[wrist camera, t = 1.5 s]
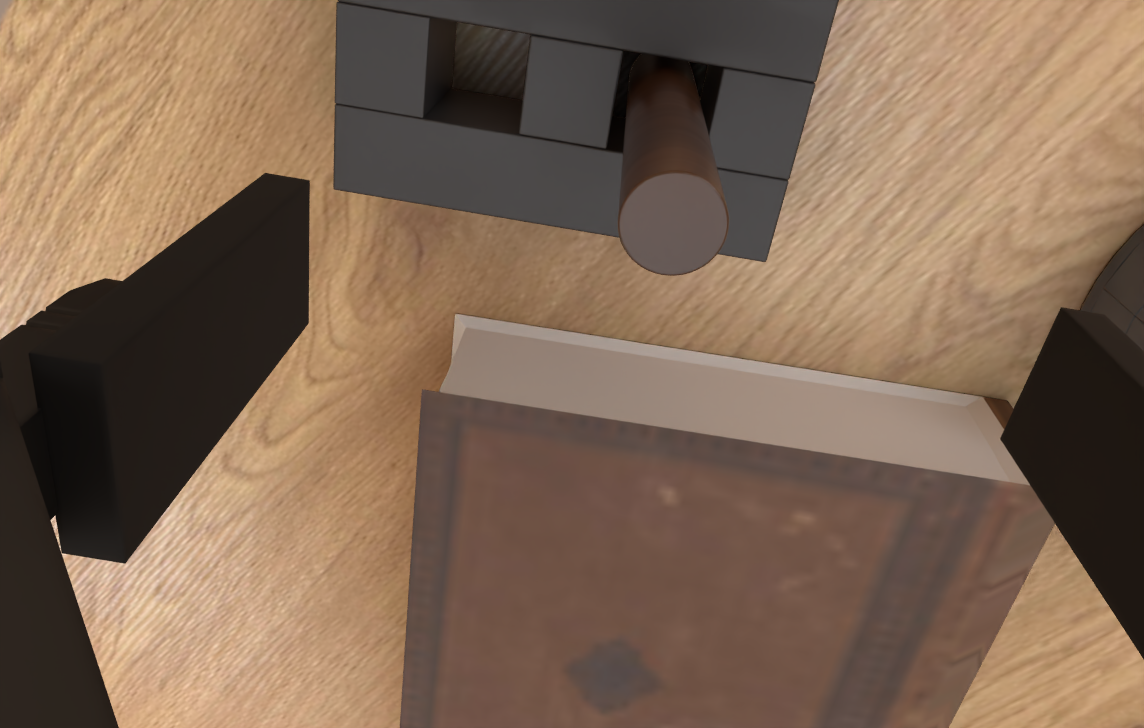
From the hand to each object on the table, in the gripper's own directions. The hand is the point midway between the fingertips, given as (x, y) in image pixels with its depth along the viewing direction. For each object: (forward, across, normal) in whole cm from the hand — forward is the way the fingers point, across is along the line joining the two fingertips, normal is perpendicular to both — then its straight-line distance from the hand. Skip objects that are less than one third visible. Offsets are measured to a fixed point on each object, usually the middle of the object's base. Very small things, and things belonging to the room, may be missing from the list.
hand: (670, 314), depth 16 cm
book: (+20, +6, -25) cm, 33 cm away
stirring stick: (+20, 0, 0) cm, 20 cm away
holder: (+20, -3, 0) cm, 20 cm away
